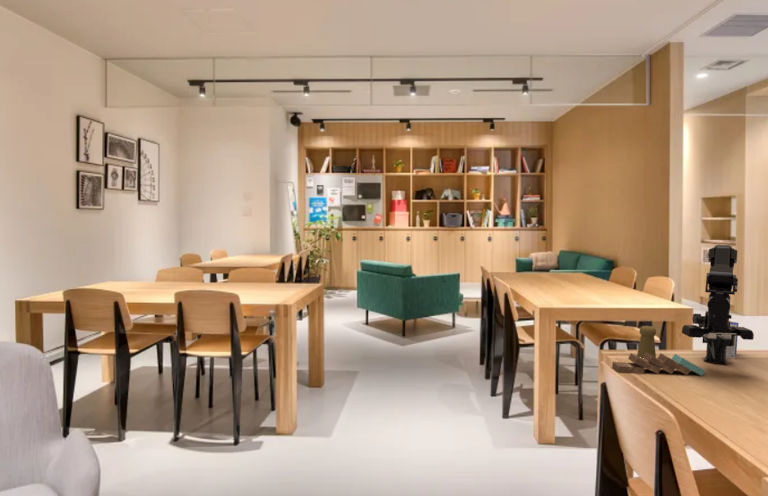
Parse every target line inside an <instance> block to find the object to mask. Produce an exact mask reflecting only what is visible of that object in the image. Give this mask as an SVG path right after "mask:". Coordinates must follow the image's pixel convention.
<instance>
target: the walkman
mask: <svg viewBox="0 0 768 496" xmlns="http://www.w3.org/2000/svg"><path fill="white" fill-rule="evenodd" d="M729 321H730V329H731V328H732V327H739V322H736V321H731V320H729ZM737 346H738V336H734V346H731V347H730V346H727V347H726V359H735V358H736V355H737V351H738V349H737V348H738V347H737Z"/></svg>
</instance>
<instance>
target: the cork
mask: <svg viewBox="0 0 768 496" xmlns="http://www.w3.org/2000/svg"><path fill="white" fill-rule="evenodd" d="M656 329H657V328H655V327H654V326H650V325H642V326H640V328H639V334H640V339H639V342H638V343H639V344H638V348H637V353H636V356H638V357H641V358H643V356H644V354H645V352H647V353H648V354H650V355H652V356H654V357H655V358H657V355H656V354H657V353H656V342H655V341H656V340H655V336H656V335H657V330H656Z"/></svg>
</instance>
